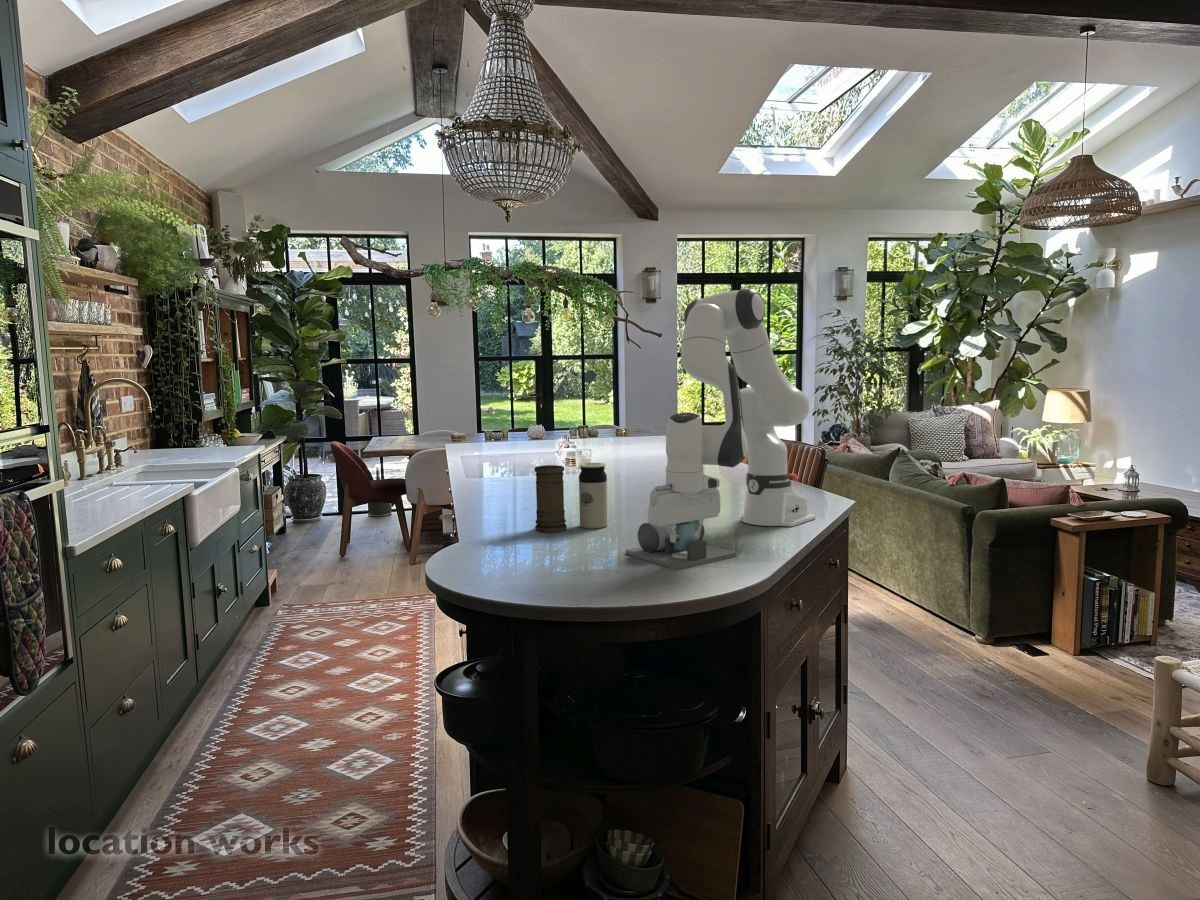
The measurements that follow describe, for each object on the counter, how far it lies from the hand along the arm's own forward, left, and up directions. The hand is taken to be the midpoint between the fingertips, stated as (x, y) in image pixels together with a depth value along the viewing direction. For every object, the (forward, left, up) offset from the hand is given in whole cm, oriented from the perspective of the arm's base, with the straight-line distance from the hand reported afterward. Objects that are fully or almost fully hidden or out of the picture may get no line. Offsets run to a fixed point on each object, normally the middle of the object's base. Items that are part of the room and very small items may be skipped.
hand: (684, 540), depth 187 cm
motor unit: (-2, -4, -5) cm, 6 cm away
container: (+6, -49, -5) cm, 50 cm away
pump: (0, 0, -2) cm, 2 cm away
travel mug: (-6, -45, -5) cm, 46 cm away
